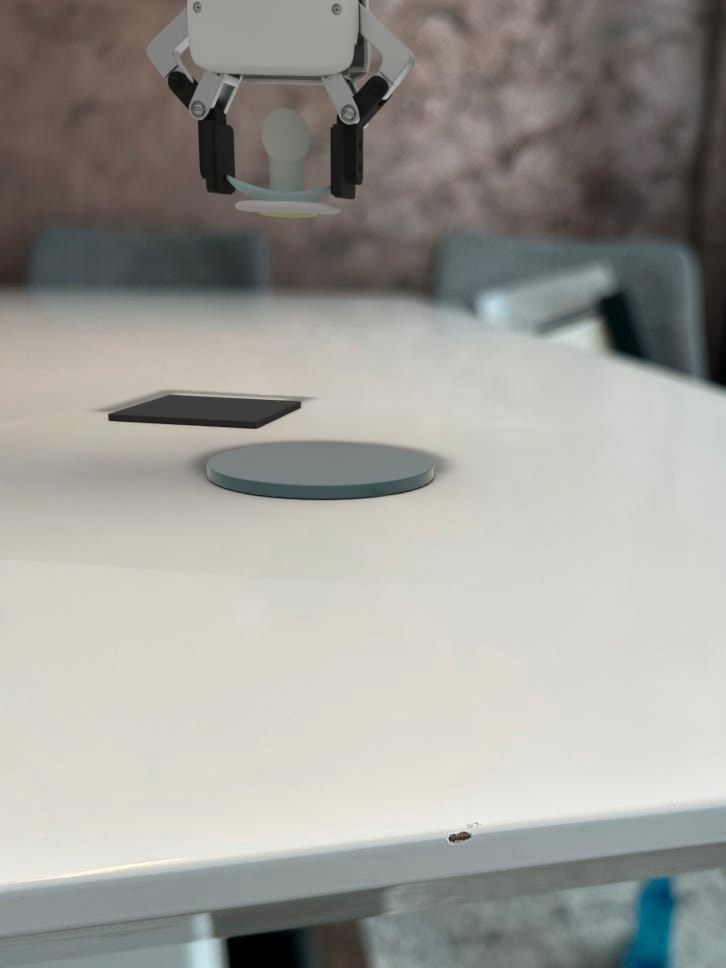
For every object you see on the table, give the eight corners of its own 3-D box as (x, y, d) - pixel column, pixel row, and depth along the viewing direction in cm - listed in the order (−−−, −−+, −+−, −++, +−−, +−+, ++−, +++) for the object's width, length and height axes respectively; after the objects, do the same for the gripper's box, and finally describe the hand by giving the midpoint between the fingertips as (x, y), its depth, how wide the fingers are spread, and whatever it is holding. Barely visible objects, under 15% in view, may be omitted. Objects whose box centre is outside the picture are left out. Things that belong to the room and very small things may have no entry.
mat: (108, 420, 86) (107, 413, 86) (169, 400, 97) (169, 394, 97) (256, 428, 85) (256, 421, 85) (301, 406, 96) (301, 401, 96)
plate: (170, 490, 64) (169, 477, 63) (251, 449, 77) (250, 437, 76) (409, 505, 62) (409, 491, 62) (450, 460, 75) (450, 448, 75)
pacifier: (350, 221, 66) (344, 218, 72) (350, 105, 64) (343, 112, 70) (226, 216, 65) (229, 214, 71) (220, 98, 63) (224, 106, 68)
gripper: (440, -123, 64) (432, 203, 70) (158, -122, 67) (173, 193, 73) (412, -168, 57) (406, 198, 63) (98, -166, 60) (121, 187, 66)
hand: (281, 193), depth 68 cm, fingers closed on pacifier, 7 cm apart
